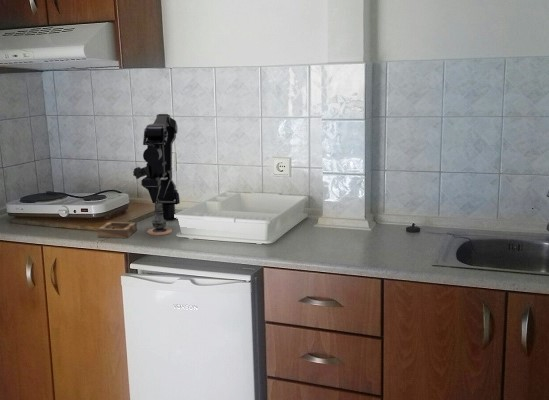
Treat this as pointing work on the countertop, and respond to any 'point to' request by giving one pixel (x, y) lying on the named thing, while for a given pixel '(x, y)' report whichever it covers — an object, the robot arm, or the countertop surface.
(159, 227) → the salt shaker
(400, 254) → the countertop surface
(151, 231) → the coaster
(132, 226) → the walnut holder
